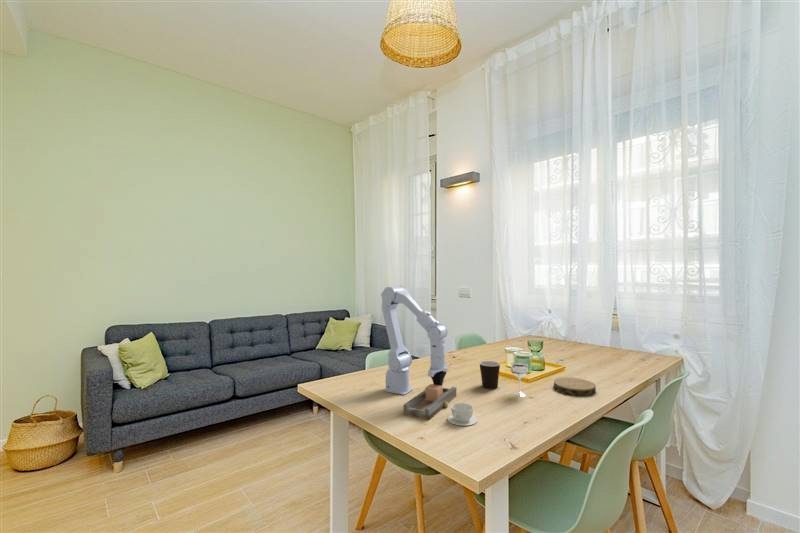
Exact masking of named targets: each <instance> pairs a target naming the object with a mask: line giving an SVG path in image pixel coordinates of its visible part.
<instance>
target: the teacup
mask: <svg viewBox="0 0 800 533" xmlns="http://www.w3.org/2000/svg"><path fill="white" fill-rule="evenodd" d="M450 410H451V414H450V415H449V416H447V421H448V422H449V423H451V424H453V425H456V426H462V427H463V426H467V427H468V426H472V425H473V426H474V425H475V424H476V423H477V422H478V418H477V417H475V416H474V415H473V411H474V406H473V405H471V404H469V403H465V402H457V403H454V404H451V406H450Z"/></svg>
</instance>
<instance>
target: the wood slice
mask: <svg viewBox="0 0 800 533" xmlns="http://www.w3.org/2000/svg"><path fill="white" fill-rule="evenodd" d="M596 387H597V386H596V384H595V383H594V382H592V381H590V380H587V379H584V378H578V377H571V376H569V377H565V376H563V377H558V378H555V379H554V380H553V389H554V390H555V391H557V392H558V393H561V394H565V395H569V396H577V397H590V396H594V395H596V393H597V391H596V390H597V389H596Z"/></svg>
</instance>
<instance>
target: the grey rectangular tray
mask: <svg viewBox="0 0 800 533" xmlns="http://www.w3.org/2000/svg"><path fill="white" fill-rule="evenodd" d="M456 397H457V387H456V386H452V387H450V388H446V387H443V395H442V396H441V397H439V398H438V399H437V400H436V401H431V400H426V392H425V389H424V390H423V391H420V392H419V393H418V394H416V396H413V397H412V398H411V399H409V400H408V401H407V402H406V403H404V404H403V415H404V414H405V415H404V416H408V415H409V417H413V418H414V417H415V418H418V419H419V418H420V419H423V420H427V419H428V420H429V421H430V420H432V418H434V417H435V416H436V415H437V414H439V412H441V410H443V408H448V406H449V404H450V402H452V400H454V399H455V398H456ZM428 420H427V421H428Z"/></svg>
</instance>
